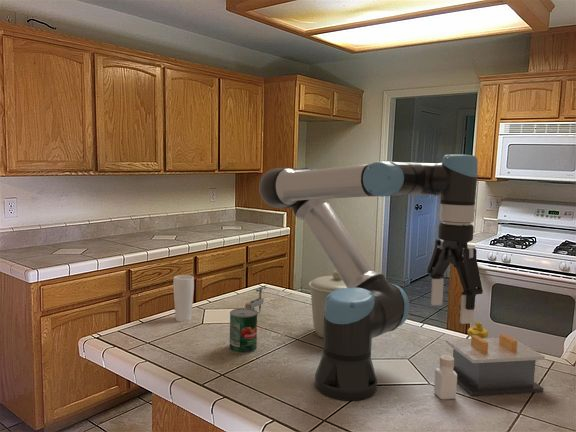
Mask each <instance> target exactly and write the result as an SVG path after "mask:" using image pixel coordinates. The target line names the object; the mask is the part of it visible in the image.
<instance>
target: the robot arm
mask: <svg viewBox="0 0 576 432" xmlns="http://www.w3.org/2000/svg"><path fill="white" fill-rule="evenodd" d="M478 165H479V164H478V158H477V157H476V156H475V155H473V154H472V155H471V154H445V155H443V157H442V162H439V163H438V162H437V163H436V162H435V163H434V162H433V163H432V162H414V161H413V162H408V161H407V162H403V161H401V162H400V161H390V160H381V161H380V160H379V161H374V162H372V163H364V164H356V165H355V164H354V165H348V166H347V165H345V166H337V167H329V168H319V169H315V168H310V167H302V168H301V167H299V168H295V167H294V168H293V167H292V168H291V167H276V168H275V167H274V168H272V169H270V170H268V171H266V172H265V173H264V174H263V175H262V176H261V179H260V181H259V185H258V192H259V195H260V197H261V199H262V201H263V202H264V203H265V204H266V205H268V206H269V207H272V208H274V209H275V208H276V209H291V211H292V212H293V214H294V215H295V217H296V218H297V220H300V221H304V222H305V224H306V225H307V227H309V229H310V231H311V232H312V235H314V237H315V239H316V241H317V242H318V244H319V246H320V247H321V248H322V250H323V252H324V253H325V255H326V257H327V258H328V260H329V261H330V263H331V264H332V266H333V268H334V269H335V270H336V271H337V272H338V274H339V276H340V277H341V279H342V280H343V282H344V283H345V285H346V287H347V288H341V289H337V290H335V291H333V292H331V293H330V294H329V295H328V296H327V298H326V301H325V308H324V338H323V347H322V349H323V350H322V356H321V358H320V361H319V363H318V367H317V369H316V371H315V375H314V386H315V389H316V390H317V391H319V393H321V394H323V395H324V396H327V397H329V398H332V399H335V400H342V401H361V400H365V399H368V398H371V397H373V396H374V395H375V394H376V392H377V389H378V388H377V387H378V378H377V373H376V371H375V368H374V364H373V360H372V347H373V345H372V344H373V343H372V342H373V339H374V338H377V337H379V336H382V335H383V334H386V333H390V332H393V331H395V330H397V329H398V328H399V327H400V326H403V324H404V323H405V322H406V321H407V318H408V317H409V315H410V301H409V298H408V296H407V293H406V292H405V290H403V288H402V287H400V286H398V285H396V284H393V283H389V281H388V279H387V278H386V277H385V274H383V273H382V272H378V271H375V270H374V268H373V267H372V266H371V264H370V262H368V260H367V258H366V257H365V255H364V254H363V253H362V251H361V249H360V248H359V247H358V245H357V244H356V242H355V240H354V239H353V237H352V235H351V234H350V233H349V230H347V228H346V227H345V226H344V224H343V222H342V221H341V220H340V218H339V216H338V215H337V214H336V212H335V211H334V209H333V208H332V206H331V205H330V204H331V201H332V199H348V198H364V197H365V198H366V197H368V198H369V197H383V198H384V197H390V196H391V197H393V196H406V195H407V196H408V195H409V196H410V195H411V196H412V195H423V196H424V195H428V196H440V201H439V202H440V203H439V216H438V217H439V218H438V219H439V221H440V223H439V224H438V233H437V234H438V235H437V237H438V239H435V242H434V250H433V252H432V254H431V255H432V256H431V259H430V262H429V264H428V267H427V271H426V272H427V274H430V278H431V288H430V289H431V291H430V305H431V306H443V299H444V298H443V297H444V296H443V295H444V281H445V279H444V278H445V276H444V274H445V272H446V271H447V269H448V268H449V266H450V264H452V266H453V267H454V268H455V269H456V272H457V274H458V276H459V281H460V283H461V286H462V289H463V291H462V292H461V293H460V294H461V297H460V298H461V300H460V302H461V303H460V312H459V315H460V316H459V323H460V324H462V325H463V324H465V325H466V324H468V325H469V324H474V313H475V308H476V304H475V303H476V296H477V295H482V294H483V293H484V292H483V286H482V281H481V275H480V271H479V266H478V261H477V249H476V248H475V247H474V248H473V247H472V248H469V247H468V243H470V242H472V241H473V239H474V231H475V230H474V228H475V226H474V225H473V223H474V222H475V213H476V209H475V208H476V206H475V205H476V198H477V197H476V196H477V185H478V177H479V173H478V168H479V167H478Z"/></svg>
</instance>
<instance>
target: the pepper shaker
mask: <svg viewBox="0 0 576 432" xmlns="http://www.w3.org/2000/svg"><path fill="white" fill-rule="evenodd" d="M453 367H454V358H453V355H452V356H451V355H449V354H447V355H446V354H443V355H440V356H439V367H437V368H435V371H434V387H433V391H434V394H435V395H436V396H437V398H439V399H440V400H454V399H456V398H457V385H458V384H457V373H456V372H455V371H454V370H453Z"/></svg>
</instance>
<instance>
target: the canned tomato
mask: <svg viewBox="0 0 576 432" xmlns="http://www.w3.org/2000/svg"><path fill="white" fill-rule="evenodd" d="M257 333H258V311H257V310H255V308H254V309H249V308H245V307H242V308H241V307H240V308H235V309H232V310H230V311H229V351H231V352H232V353H235V354H250V353H254V352H256V350H257V348H258V347H257V344H258V342H257V341H258V334H257Z"/></svg>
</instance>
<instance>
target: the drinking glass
mask: <svg viewBox="0 0 576 432" xmlns="http://www.w3.org/2000/svg"><path fill="white" fill-rule="evenodd" d="M172 281H173V282H172V286H173V287H172V288H173V300H174V312H175V313H174V315H175V321H177V322H181V323H185V322H189V321H191V320H192V313H193V312H192V311H193V304H194V301H193V299H194V294H195V293H194V291H195V277H194V275H190V274H181V275H180V274H179V275H175V276H173V280H172Z"/></svg>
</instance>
